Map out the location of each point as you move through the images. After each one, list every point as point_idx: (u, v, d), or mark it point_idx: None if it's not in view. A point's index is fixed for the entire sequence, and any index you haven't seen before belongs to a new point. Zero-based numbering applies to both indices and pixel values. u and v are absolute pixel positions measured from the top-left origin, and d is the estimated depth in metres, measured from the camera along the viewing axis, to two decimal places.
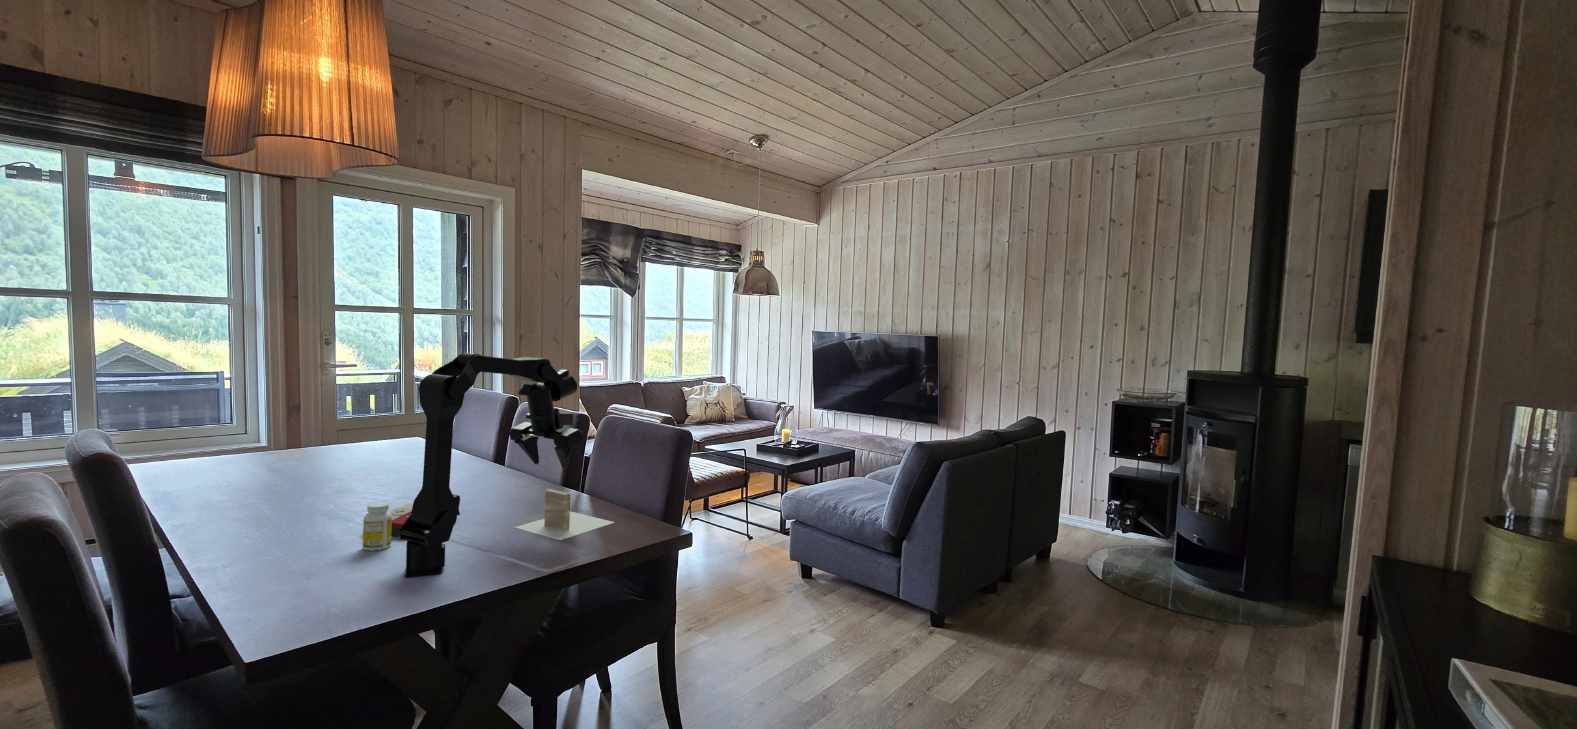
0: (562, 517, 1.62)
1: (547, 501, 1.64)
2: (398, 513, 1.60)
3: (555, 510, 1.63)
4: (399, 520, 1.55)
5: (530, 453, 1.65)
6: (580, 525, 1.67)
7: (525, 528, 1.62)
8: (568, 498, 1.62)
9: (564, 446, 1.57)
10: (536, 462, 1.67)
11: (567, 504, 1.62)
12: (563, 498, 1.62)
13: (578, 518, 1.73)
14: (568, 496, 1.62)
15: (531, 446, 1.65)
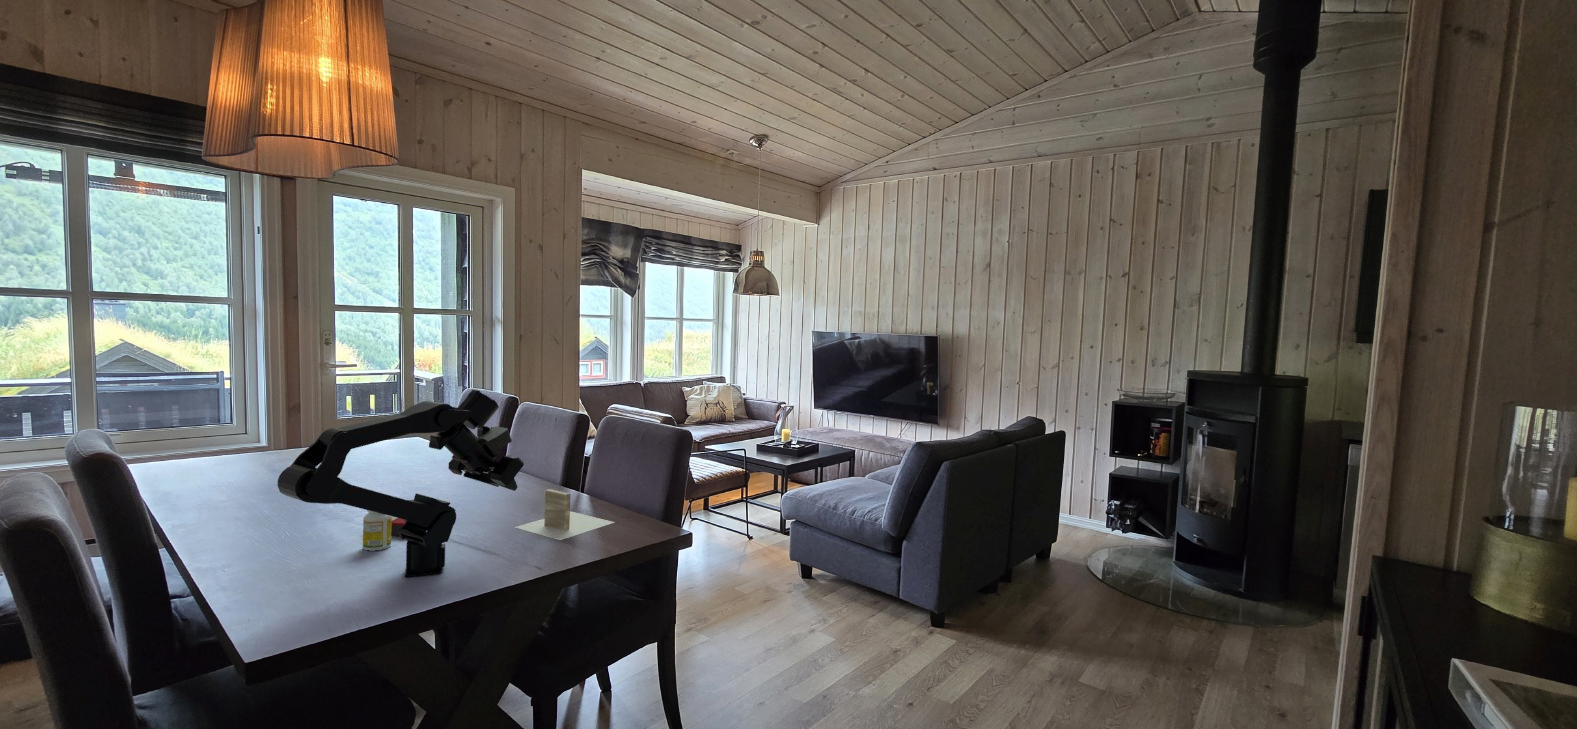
0: (562, 517, 1.62)
1: (547, 501, 1.64)
2: None
3: (555, 510, 1.63)
4: (401, 520, 1.56)
5: (486, 481, 1.49)
6: (580, 525, 1.67)
7: (525, 528, 1.62)
8: (568, 498, 1.62)
9: (504, 484, 1.40)
10: (497, 484, 1.51)
11: (567, 504, 1.62)
12: (563, 498, 1.62)
13: (578, 518, 1.73)
14: (568, 496, 1.62)
15: (483, 474, 1.49)
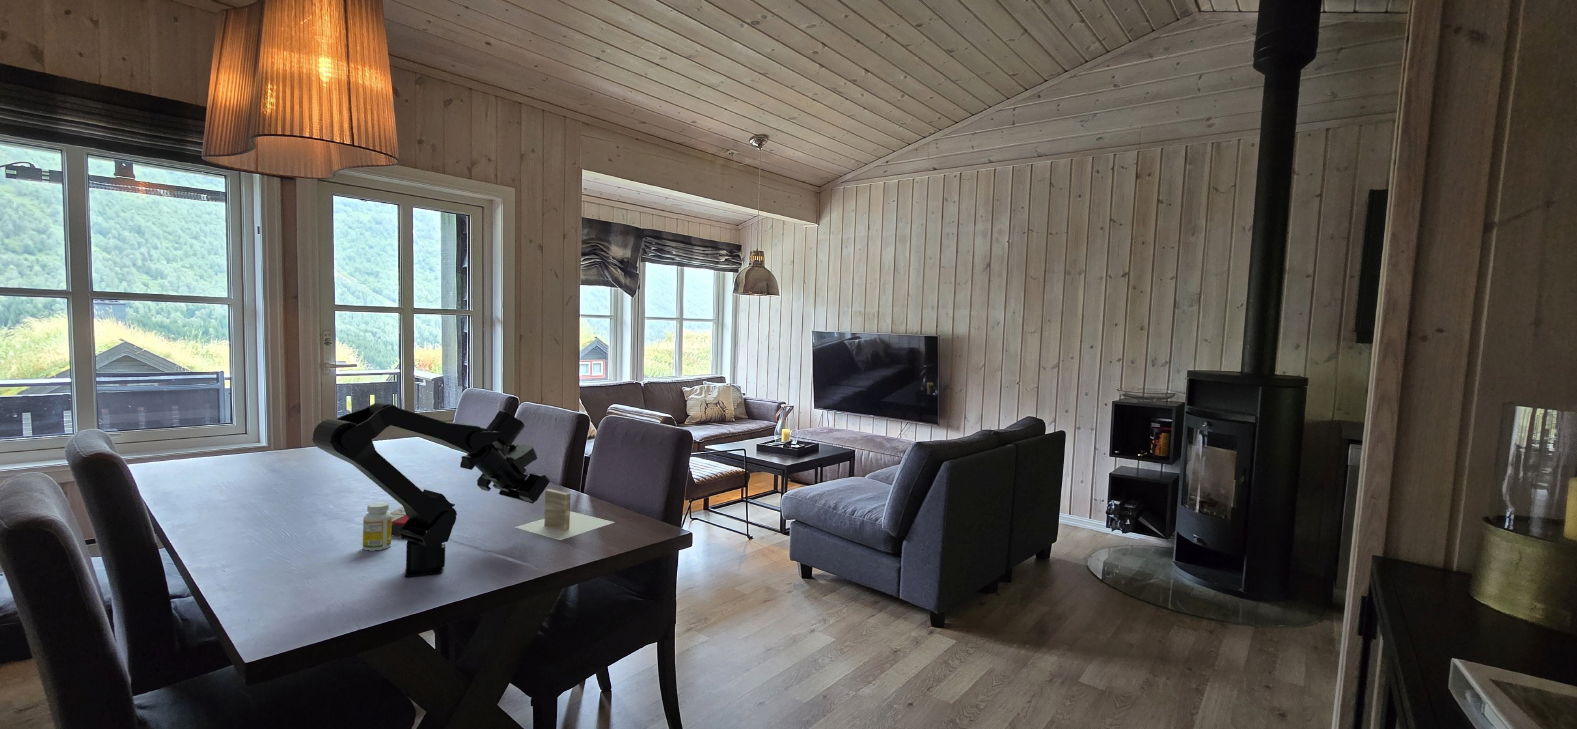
0: (562, 517, 1.62)
1: (547, 501, 1.64)
2: (402, 512, 1.61)
3: (555, 510, 1.63)
4: (403, 519, 1.56)
5: None
6: (580, 525, 1.67)
7: (525, 528, 1.62)
8: (568, 498, 1.62)
9: (531, 501, 1.46)
10: (531, 501, 1.57)
11: (567, 504, 1.62)
12: (563, 498, 1.62)
13: (578, 518, 1.73)
14: (568, 496, 1.62)
15: None
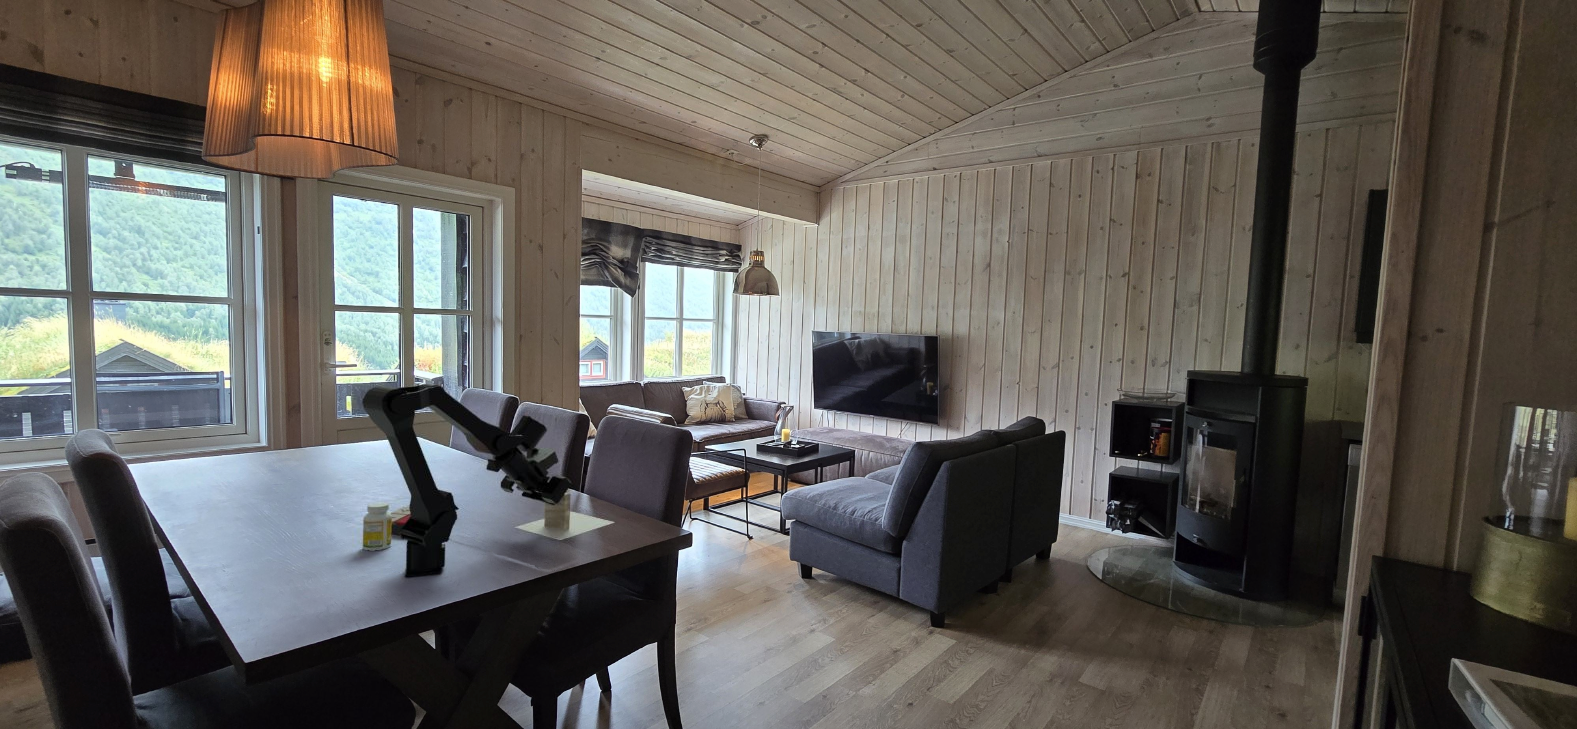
0: (562, 517, 1.62)
1: None
2: (404, 512, 1.61)
3: (555, 510, 1.63)
4: (405, 519, 1.56)
5: None
6: (580, 525, 1.67)
7: (525, 528, 1.62)
8: (568, 498, 1.62)
9: (554, 502, 1.52)
10: (552, 503, 1.62)
11: (567, 504, 1.62)
12: (563, 498, 1.62)
13: (578, 518, 1.73)
14: (568, 496, 1.62)
15: None
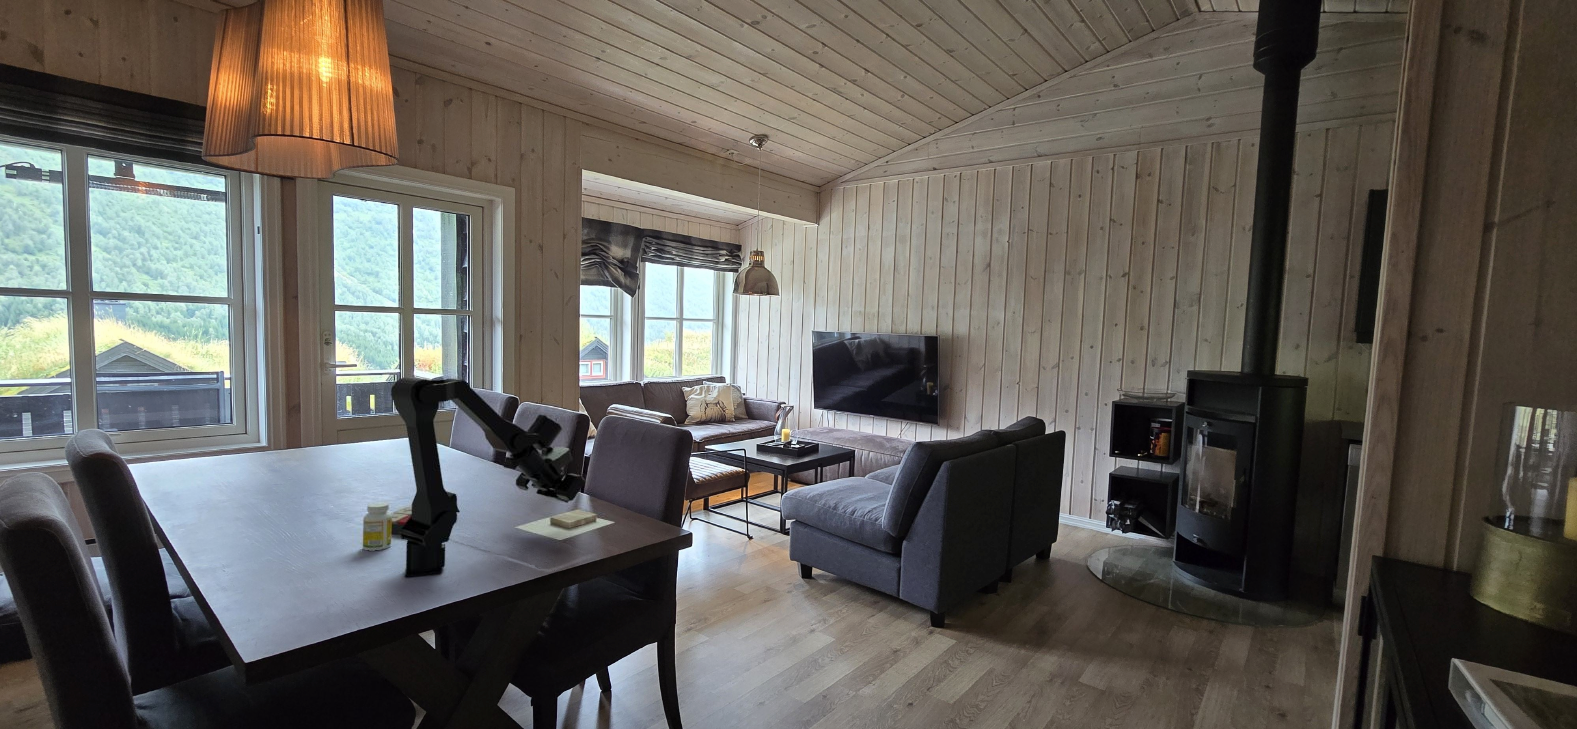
0: (577, 518, 1.66)
1: (571, 512, 1.72)
2: (406, 512, 1.61)
3: (574, 516, 1.69)
4: (407, 519, 1.57)
5: None
6: None
7: (525, 528, 1.62)
8: (593, 519, 1.70)
9: (568, 500, 1.56)
10: None
11: (589, 519, 1.69)
12: (592, 514, 1.70)
13: None
14: (594, 518, 1.71)
15: None
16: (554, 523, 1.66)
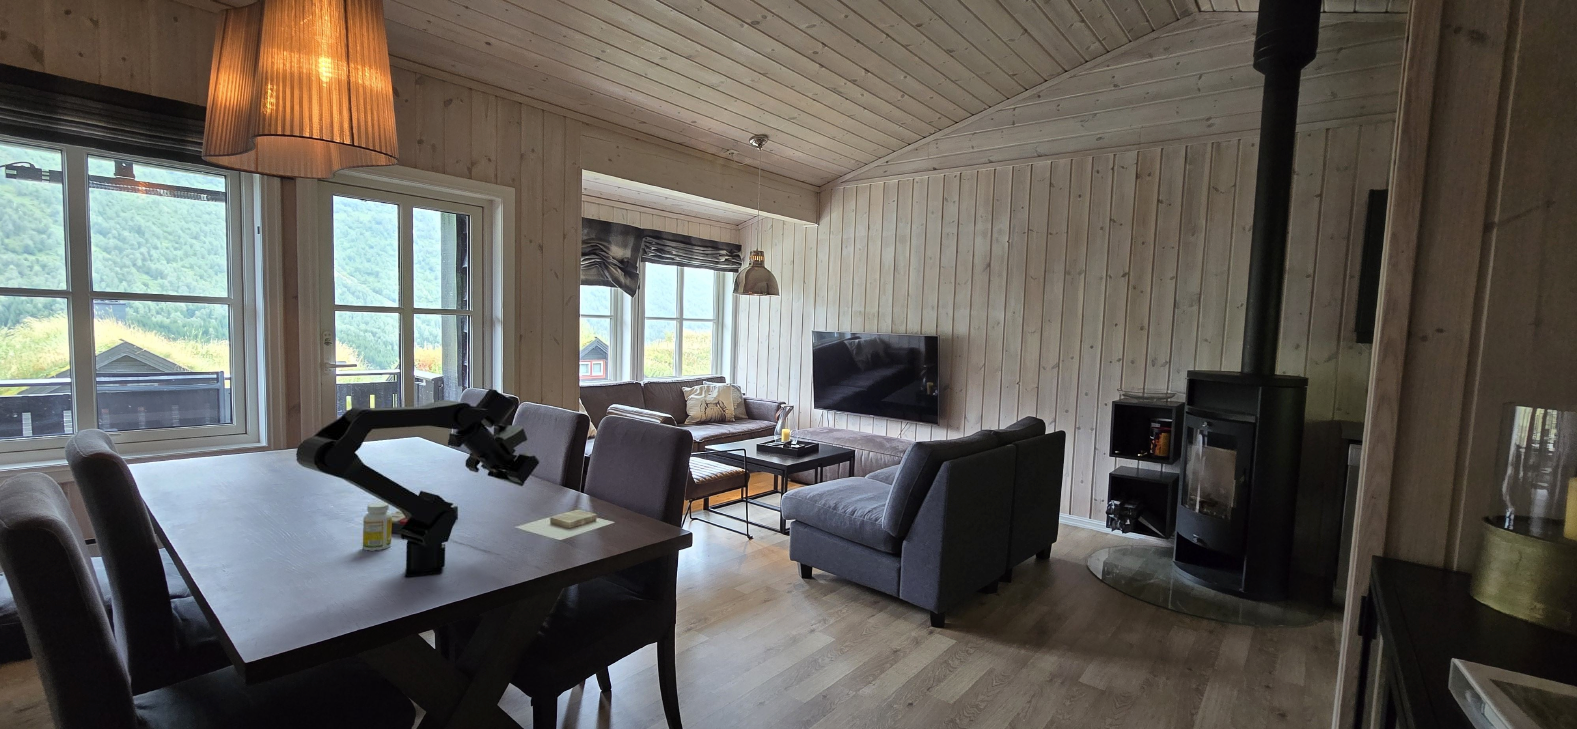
0: (577, 518, 1.66)
1: (571, 512, 1.72)
2: None
3: (574, 516, 1.69)
4: None
5: None
6: None
7: (525, 528, 1.62)
8: (593, 519, 1.70)
9: (520, 481, 1.43)
10: None
11: (589, 519, 1.69)
12: (592, 514, 1.70)
13: None
14: (594, 518, 1.71)
15: None
16: (554, 523, 1.66)
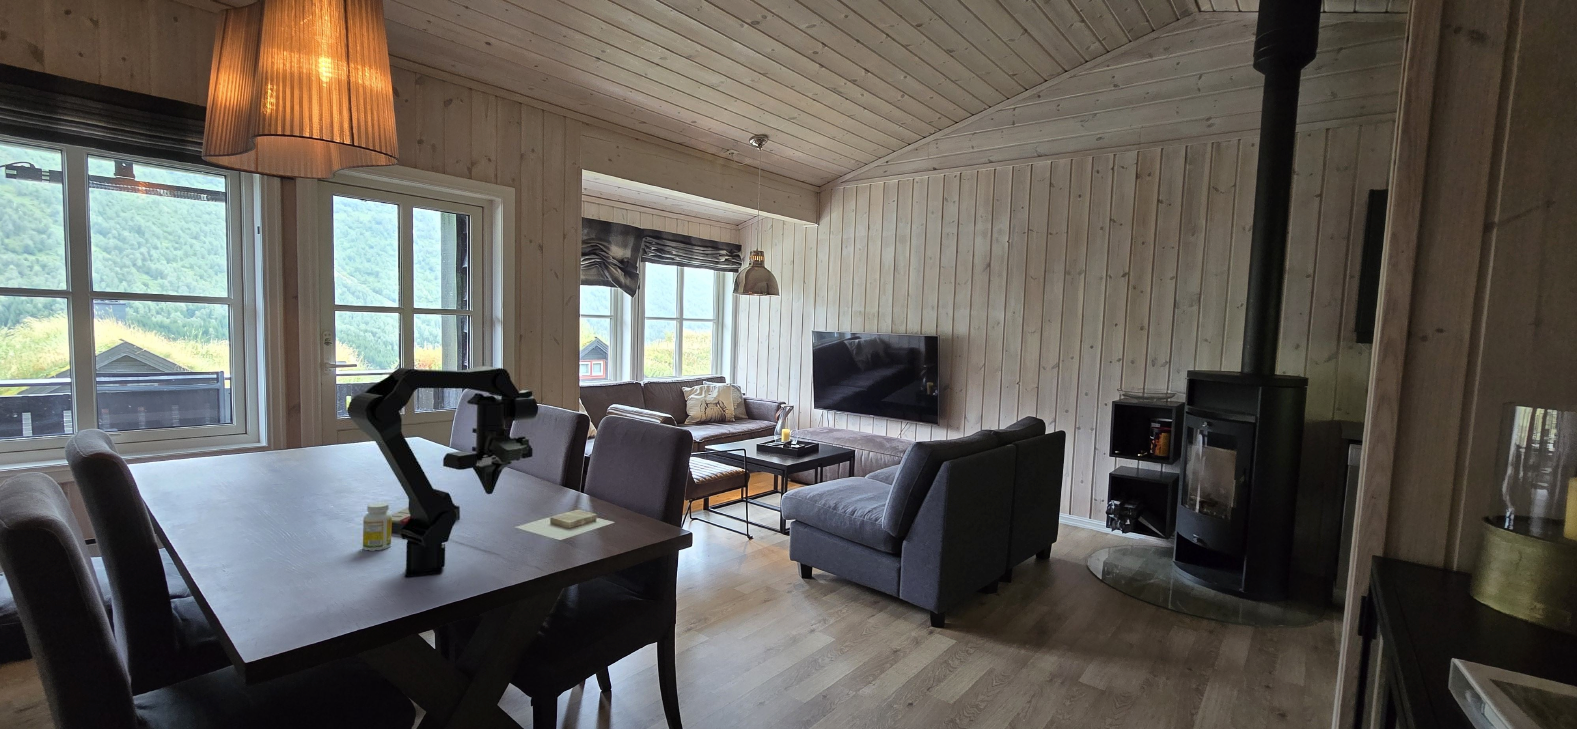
0: (577, 518, 1.66)
1: (571, 512, 1.72)
2: None
3: (574, 516, 1.69)
4: None
5: None
6: None
7: (525, 528, 1.62)
8: (593, 519, 1.70)
9: None
10: None
11: (589, 519, 1.69)
12: (592, 514, 1.70)
13: None
14: (594, 518, 1.71)
15: None
16: (554, 523, 1.66)
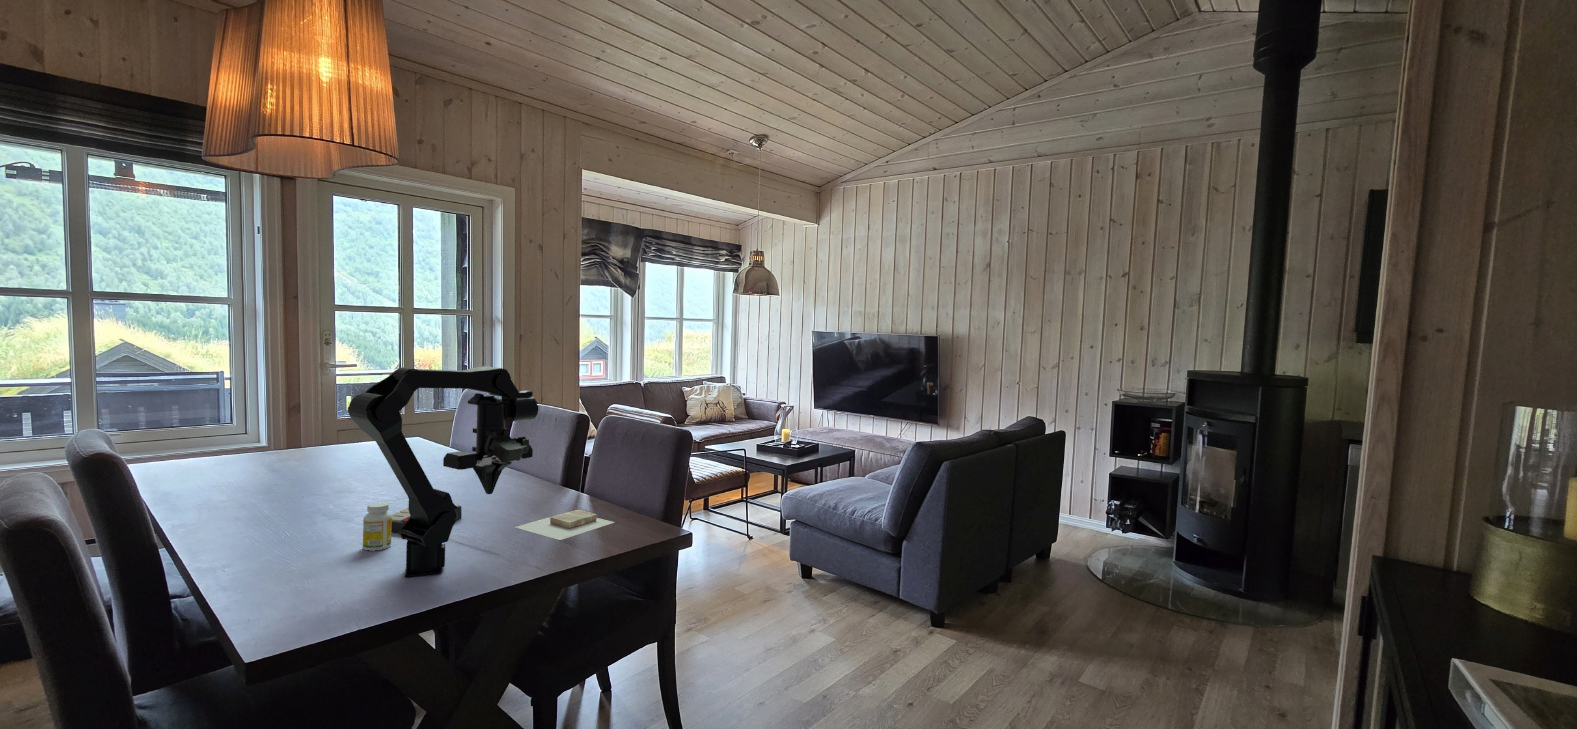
0: (577, 518, 1.66)
1: (571, 512, 1.72)
2: None
3: (574, 516, 1.69)
4: None
5: None
6: None
7: (525, 528, 1.62)
8: (593, 519, 1.70)
9: None
10: None
11: (589, 519, 1.69)
12: (592, 514, 1.70)
13: None
14: (594, 518, 1.71)
15: None
16: (554, 523, 1.66)
